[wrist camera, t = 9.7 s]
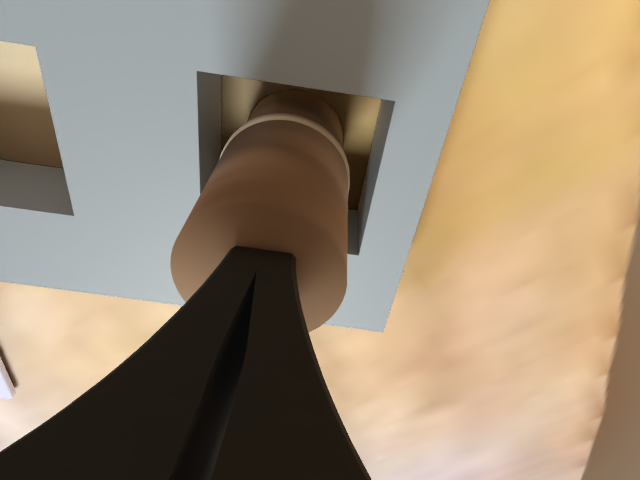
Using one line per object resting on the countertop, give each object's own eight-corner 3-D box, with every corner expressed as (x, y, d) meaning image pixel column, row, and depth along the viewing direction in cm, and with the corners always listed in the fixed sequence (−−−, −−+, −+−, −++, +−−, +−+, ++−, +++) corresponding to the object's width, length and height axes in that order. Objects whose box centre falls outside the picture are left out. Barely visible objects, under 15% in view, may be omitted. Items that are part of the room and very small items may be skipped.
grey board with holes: (-43, 225, 20) (-97, 268, 17) (-207, -164, 12) (-344, -184, 10) (379, 283, 21) (383, 332, 18) (474, -51, 13) (503, -43, 10)
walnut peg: (236, 177, 18) (170, 326, 11) (243, 72, 15) (164, 185, 9) (337, 195, 18) (330, 352, 11) (360, 94, 16) (368, 220, 9)
